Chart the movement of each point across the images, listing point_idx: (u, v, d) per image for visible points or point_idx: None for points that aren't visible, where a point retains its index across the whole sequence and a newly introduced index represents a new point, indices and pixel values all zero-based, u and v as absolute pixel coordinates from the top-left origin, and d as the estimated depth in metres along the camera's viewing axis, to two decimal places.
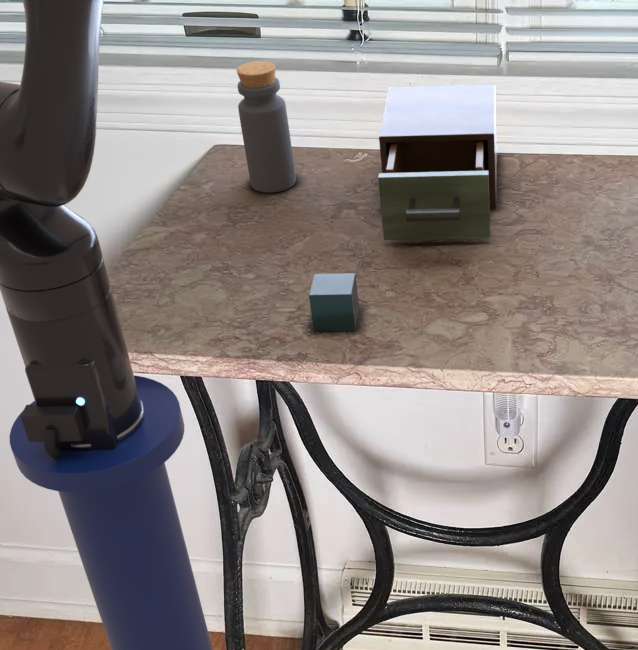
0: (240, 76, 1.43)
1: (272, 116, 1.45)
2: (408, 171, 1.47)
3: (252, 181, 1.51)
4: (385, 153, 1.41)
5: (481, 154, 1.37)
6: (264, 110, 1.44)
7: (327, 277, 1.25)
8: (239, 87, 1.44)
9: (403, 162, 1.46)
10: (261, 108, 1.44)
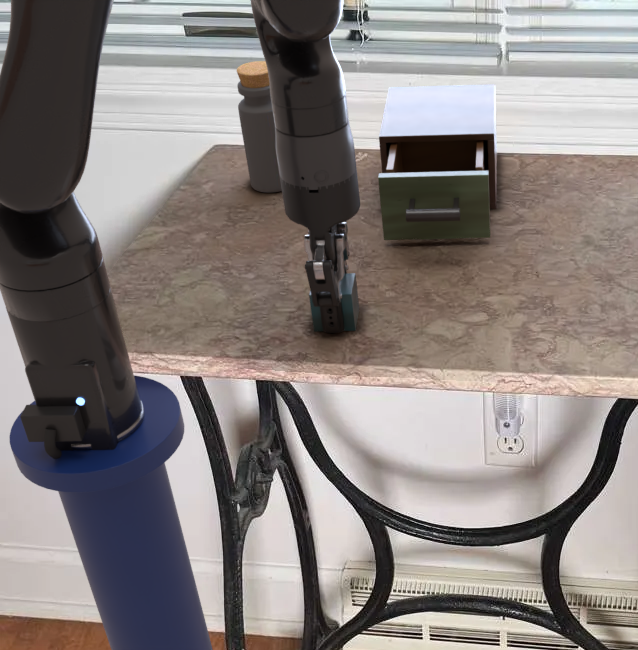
0: (240, 76, 1.43)
1: (272, 116, 1.45)
2: (408, 171, 1.47)
3: (252, 181, 1.51)
4: (385, 153, 1.41)
5: (481, 154, 1.37)
6: (264, 110, 1.44)
7: None
8: (239, 87, 1.44)
9: (403, 162, 1.46)
10: (261, 108, 1.44)
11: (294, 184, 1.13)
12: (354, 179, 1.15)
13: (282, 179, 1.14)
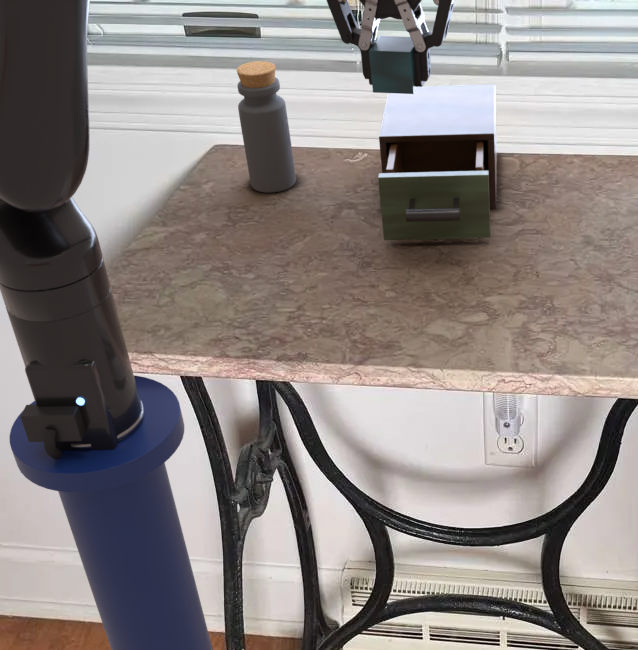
0: (240, 76, 1.43)
1: (272, 116, 1.45)
2: (408, 171, 1.47)
3: (252, 181, 1.51)
4: (385, 153, 1.41)
5: (481, 154, 1.37)
6: (264, 110, 1.44)
7: (379, 45, 1.23)
8: (239, 87, 1.44)
9: (403, 162, 1.46)
10: (261, 108, 1.44)
11: None
12: None
13: None
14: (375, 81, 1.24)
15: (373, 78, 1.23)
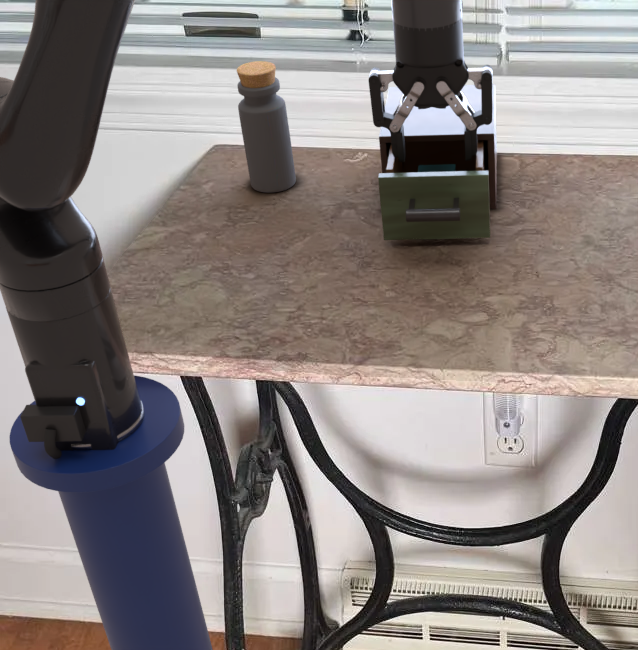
0: (240, 76, 1.43)
1: (272, 116, 1.45)
2: (408, 171, 1.47)
3: (252, 181, 1.51)
4: (385, 153, 1.41)
5: (481, 154, 1.37)
6: (264, 110, 1.44)
7: None
8: (239, 87, 1.44)
9: (403, 162, 1.46)
10: (261, 108, 1.44)
11: (456, 21, 1.26)
12: None
13: (444, 26, 1.25)
14: None
15: None
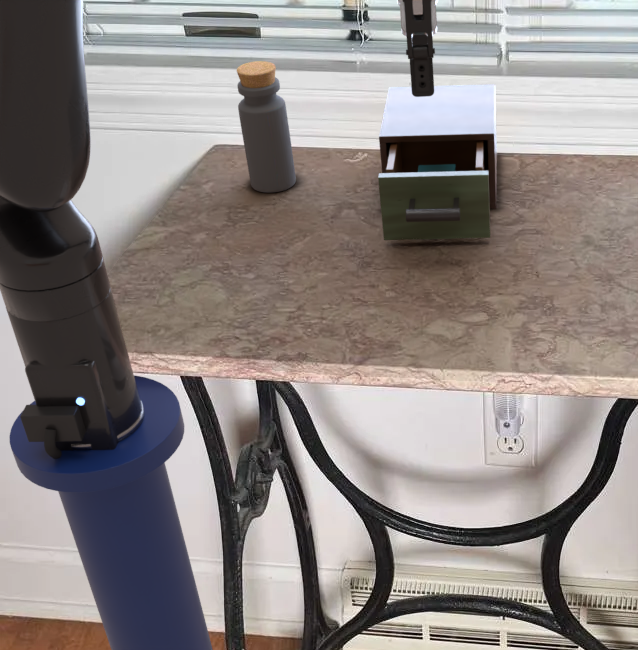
0: (240, 76, 1.43)
1: (272, 116, 1.45)
2: (408, 171, 1.47)
3: (252, 181, 1.51)
4: (385, 153, 1.41)
5: (481, 154, 1.37)
6: (264, 110, 1.44)
7: None
8: (239, 87, 1.44)
9: (403, 162, 1.46)
10: (261, 108, 1.44)
11: None
12: None
13: None
14: None
15: None
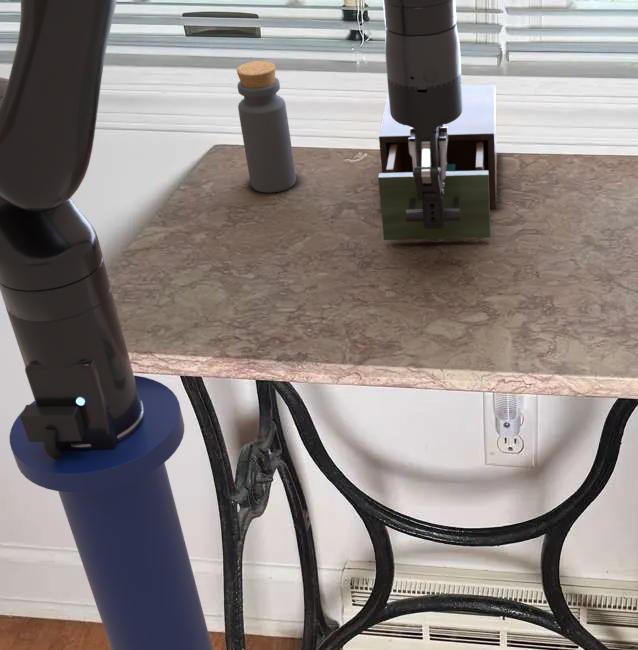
0: (240, 76, 1.43)
1: (272, 116, 1.45)
2: (408, 171, 1.47)
3: (252, 181, 1.51)
4: (385, 153, 1.41)
5: (481, 154, 1.37)
6: (264, 110, 1.44)
7: None
8: (239, 87, 1.44)
9: (403, 162, 1.46)
10: (261, 108, 1.44)
11: (403, 85, 1.17)
12: (459, 81, 1.19)
13: (391, 80, 1.18)
14: None
15: None
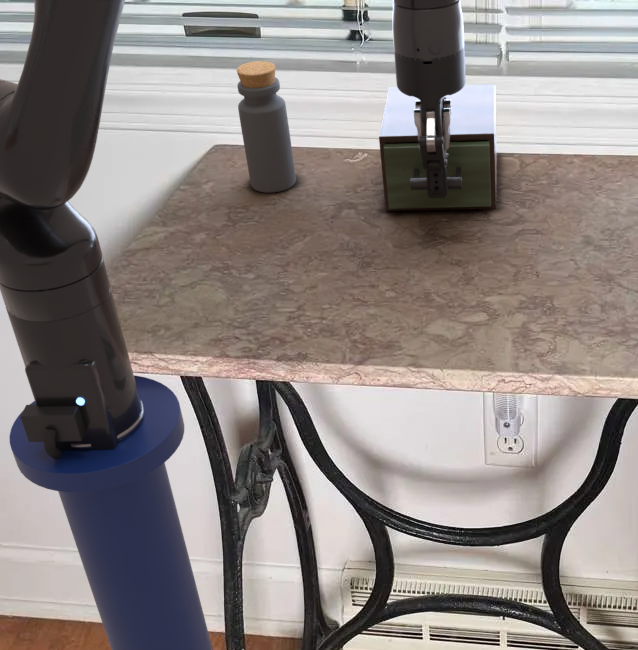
0: (240, 76, 1.43)
1: (272, 116, 1.45)
2: None
3: (252, 181, 1.51)
4: None
5: None
6: (264, 110, 1.44)
7: None
8: (239, 87, 1.44)
9: None
10: (261, 108, 1.44)
11: (409, 57, 1.24)
12: (462, 54, 1.26)
13: (397, 53, 1.25)
14: None
15: None
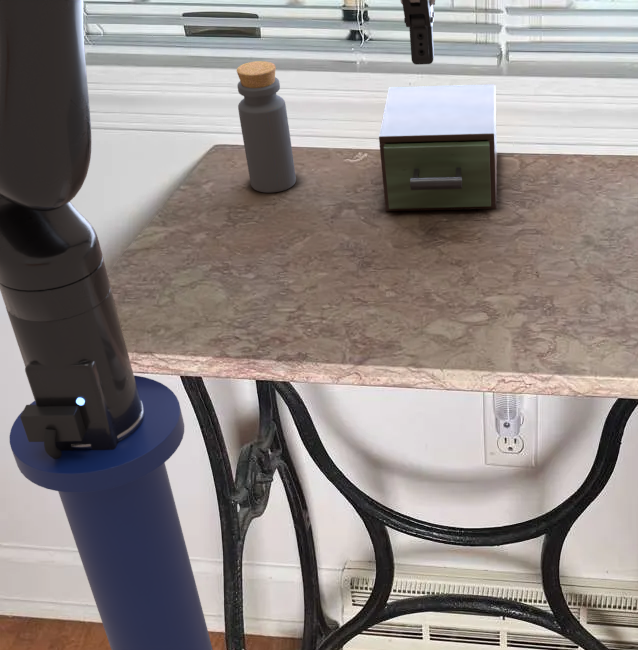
0: (240, 76, 1.43)
1: (272, 116, 1.45)
2: None
3: (252, 181, 1.51)
4: None
5: None
6: (264, 110, 1.44)
7: None
8: (239, 87, 1.44)
9: None
10: (261, 108, 1.44)
11: None
12: None
13: None
14: None
15: None
